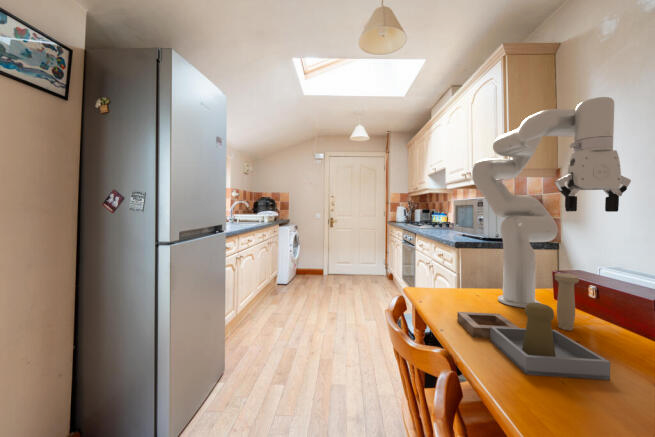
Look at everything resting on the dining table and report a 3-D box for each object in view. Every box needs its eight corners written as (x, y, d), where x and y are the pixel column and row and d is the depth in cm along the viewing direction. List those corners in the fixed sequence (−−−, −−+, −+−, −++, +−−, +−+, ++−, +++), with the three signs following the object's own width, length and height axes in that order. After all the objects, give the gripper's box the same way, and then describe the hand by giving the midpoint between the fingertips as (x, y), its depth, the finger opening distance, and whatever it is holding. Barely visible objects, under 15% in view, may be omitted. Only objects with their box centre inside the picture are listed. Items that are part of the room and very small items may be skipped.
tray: (490, 340, 70) (490, 326, 70) (555, 344, 68) (555, 329, 68) (525, 374, 55) (526, 356, 55) (610, 380, 53) (610, 362, 53)
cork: (562, 362, 58) (563, 309, 58) (530, 358, 59) (530, 307, 59) (546, 348, 64) (547, 301, 64) (517, 345, 65) (517, 299, 65)
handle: (558, 331, 76) (559, 276, 75) (551, 323, 81) (552, 272, 81) (581, 335, 73) (582, 278, 73) (572, 326, 79) (573, 274, 79)
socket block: (457, 320, 83) (457, 311, 83) (499, 322, 82) (499, 313, 82) (473, 337, 72) (473, 327, 72) (522, 339, 70) (522, 329, 70)
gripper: (567, 144, 71) (565, 211, 72) (644, 142, 69) (641, 211, 69) (548, 151, 79) (546, 211, 79) (617, 149, 76) (615, 211, 77)
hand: (591, 211), depth 74 cm, fingers open, 9 cm apart
